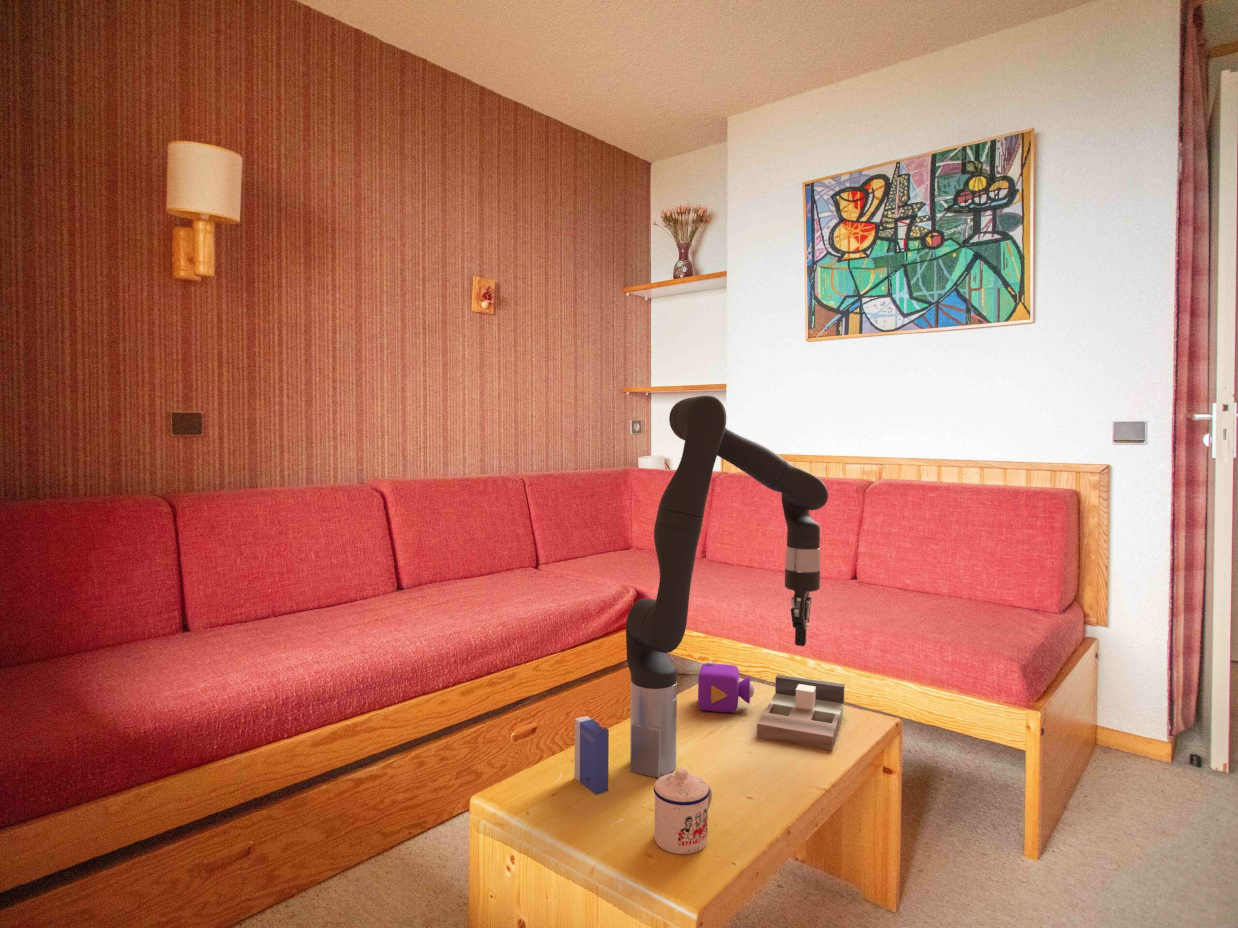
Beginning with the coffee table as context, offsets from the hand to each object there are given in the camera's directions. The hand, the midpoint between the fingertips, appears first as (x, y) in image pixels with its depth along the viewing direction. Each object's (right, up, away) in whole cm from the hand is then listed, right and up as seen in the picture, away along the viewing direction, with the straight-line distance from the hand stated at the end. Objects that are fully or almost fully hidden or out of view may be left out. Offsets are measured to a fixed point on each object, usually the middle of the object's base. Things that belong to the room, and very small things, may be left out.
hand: (800, 644), depth 157 cm
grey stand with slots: (+2, -20, +5) cm, 21 cm away
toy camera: (-14, -19, +16) cm, 29 cm away
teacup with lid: (-29, -22, -40) cm, 54 cm away
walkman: (-46, -21, -23) cm, 55 cm away
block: (+4, -17, +10) cm, 19 cm away
